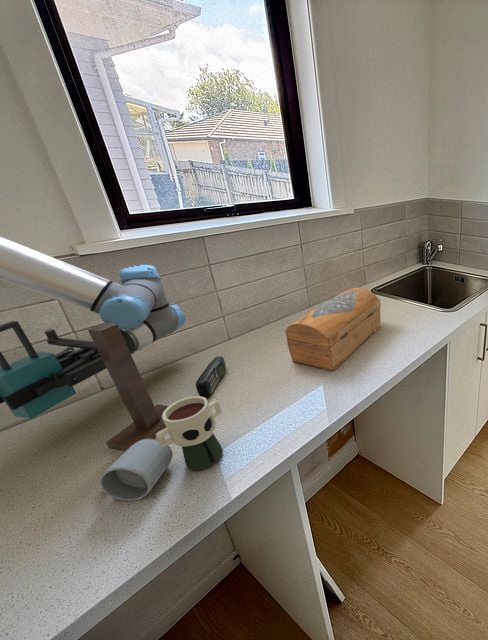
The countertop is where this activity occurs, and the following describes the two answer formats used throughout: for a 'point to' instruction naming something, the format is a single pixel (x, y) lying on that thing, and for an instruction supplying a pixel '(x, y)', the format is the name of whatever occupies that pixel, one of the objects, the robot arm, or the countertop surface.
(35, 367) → the teal handbag
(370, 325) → the wooden box
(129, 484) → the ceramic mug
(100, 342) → the hook stand
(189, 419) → the character mug
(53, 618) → the countertop surface
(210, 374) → the mobile phone
